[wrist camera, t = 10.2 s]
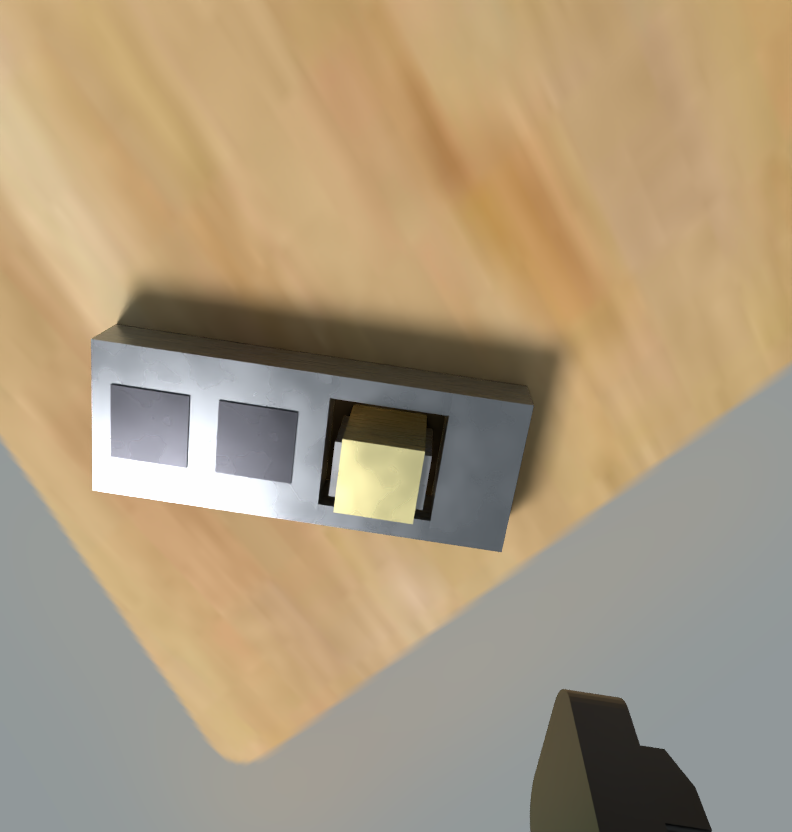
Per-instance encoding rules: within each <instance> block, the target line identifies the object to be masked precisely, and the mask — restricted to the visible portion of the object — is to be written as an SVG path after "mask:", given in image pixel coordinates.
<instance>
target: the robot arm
mask: <svg viewBox="0 0 792 832" xmlns="http://www.w3.org/2000/svg"><path fill="white" fill-rule="evenodd" d="M530 831H531V832H711V831H712V829H711V827H710V824H709V822H708V819H707V816H706V814H705V811H704V809H703V806H702V804H701V801H700V798H699V796H698V793H697V791H696V788H695V786H694V785H693V784H692V783H691V782H690V780H689V779H688V778H687V777H686V775H685V774H684V773H683V772H682V770H680V768H679V767H678V765H677V764H676V763H675V762H674V761H673V759H672V758H671V757H670V756H669V754H668V753H667V752H666V751H665V749H659V748H653V747H646V746H640V744H639V741H638V738H637V735H636V732H635V729H634V726H633V723H632V719H631V716H630V713H629V710H628V707H627V705H626V703H625V701H624V700H623V699H622V698H618V697H611V696H605V695H599V694H592V693H585V692H579V691H572V690H566V689H562V690H561V691H560V692H559V693H558V695H557V697H556V700H555V703H554V707H553V710H552V714H551V718H550V721H549V725H548V729H547V733H546V736H545V740H544V743H543V747H542V750H541V754H540V758H539V761H538V765H537V769H536V772H535V776H534V780H533V785H532V792H531V802H530Z"/></svg>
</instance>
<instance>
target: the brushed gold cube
mask: <svg viewBox="0 0 792 832" xmlns="http://www.w3.org/2000/svg"><path fill="white" fill-rule="evenodd" d="M426 424H427V415H423V414H417V413H410V412H403V411H397V410H390V409H384V408H377V407H370V406H364V405H357V404H354V405H353V408H352V412H351V415H350V417H349V416H344V417H343V420H342V423H341V426H340V429H339V432H338V435H337V438H336V440H335V446H334V455H333V463H332V472H331V480H330V488H329V496H333V497H335V504H334V512H335V513H342V514H348V515H355V516H361V517H368V518H375V519H381V520H388V521H394V522H401V523H407V524H413V520H414V514H415V509H419V510H423V505H424V499H425V493H426V487H427V482H428V476H429V470H430V464H431V458H432V435H433V429H428V428H426Z"/></svg>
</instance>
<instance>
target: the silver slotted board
mask: <svg viewBox="0 0 792 832" xmlns="http://www.w3.org/2000/svg"><path fill="white" fill-rule="evenodd" d="M91 371H92V458H93V490H94V491H100V492H107V493H113V494H120V495H127V496H133V497H140V498H147V499H153V500H160V501H166V502H173V503H180V504H186V505H193V506H200V507H206V508H213V509H219V510H226V511H233V512H239V513H246V514H253V515H259V516H266V517H272V518H279V519H286V520H292V521H299V522H305V523H312V524H319V525H325V526H332V527H339V528H345V529H352V530H358V531H365V532H372V533H378V534H385V535H392V536H398V537H405V538H411V539H418V540H425V541H431V542H438V543H445V544H451V545H458V546H464V547H471V548H478V549H484V550H491V551H497V552H502V547H503V543H504V538H505V534H506V529H507V524H508V520H509V515H510V511H511V506H512V502H513V497H514V493H515V488H516V484H517V479H518V475H519V470H520V466H521V461H522V457H523V452H524V447H525V443H526V438H527V434H528V429H529V425H530V420H531V416H532V411H533V407H534V405H533V402H532V399H531V396H530V393H529V390H528V387H527V386H523V385H516V384H510V383H503V382H496V381H490V380H483V379H477V378H470V377H463V376H457V375H450V374H443V373H437V372H430V371H423V370H417V369H410V368H403V367H397V366H390V365H383V364H377V363H370V362H363V361H357V360H350V359H343V358H337V357H330V356H323V355H317V354H310V353H304V352H297V351H290V350H284V349H277V348H270V347H264V346H257V345H250V344H244V343H237V342H230V341H224V340H217V339H210V338H204V337H197V336H190V335H184V334H177V333H170V332H164V331H157V330H150V329H144V328H137V327H131V326H124V325H117V324H116V325H114V326H112V327H111V328H109V329H107V330H106V331H104V332H102V333H101V334H99V335H97V336H95V337H94V338H92V339H91ZM335 399H339V400H346V401H353V402H359V403H366V404H373V405H379V406H386V407H392V408H399V409H406V410H412V411H419V412H426V413H432V414H439V415H445V419H444V425H443V431H442V436H441V442H440V448H439V454H438V459H437V465H436V471H435V476H434V482H433V488H432V494H431V495H427V494H425V499H424V505H423V510H419V509H415V514H414V520H413V524H407V523H401V522H394V521H388V520H381V519H375V518H368V517H361V516H355V515H348V514H342V513H335V512H334V504H335V497H333V496H329V488H330V480H327V479H326V475H327V467H328V458H329V449H330V441H331V432H332V423H333V415H334V406H335Z"/></svg>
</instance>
